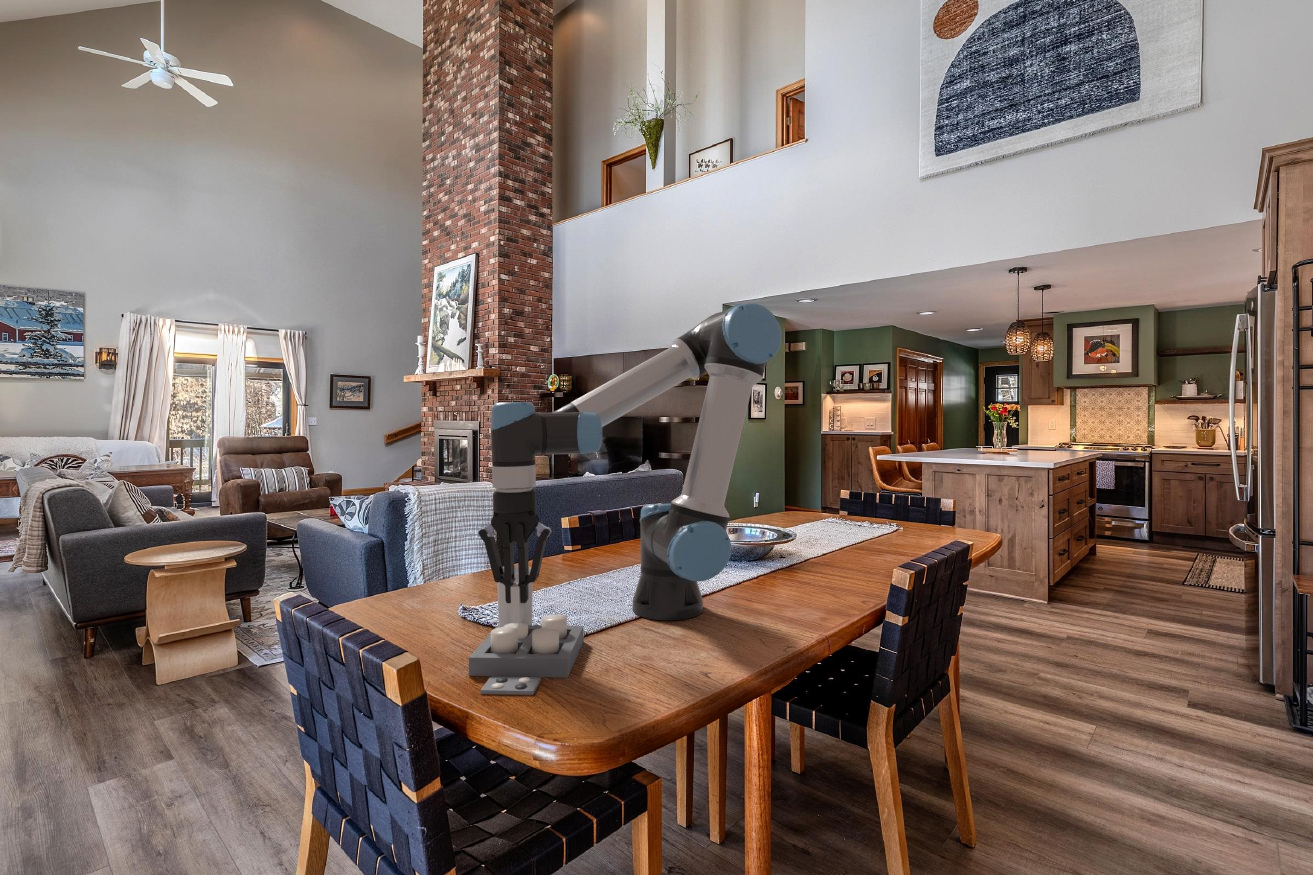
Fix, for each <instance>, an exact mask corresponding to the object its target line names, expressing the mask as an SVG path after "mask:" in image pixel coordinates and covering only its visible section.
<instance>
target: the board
mask: <svg viewBox="0 0 1313 875" xmlns="http://www.w3.org/2000/svg"><path fill="white" fill-rule="evenodd" d="M503 626H505V625H499V624H497V625H496V626H495V628H494V629H496V628H500V627H503ZM584 626H585V625H567V639H559V654H532V632H533V631H534V630H536V629H539V628H542V624H541V625H539V624H537V625H536V624H535V625H534V624H532V625H528V637H527V638H526V639H518V651H517V652H516V654H500V653H491V632H490V633H489V634H488V635H487V637H485V639H484V640H483V641H482V642H481V643H480V644H479V645H478V647H477V648H476V649H475V650H474V651H473V653H471V654H470V655H469V657H468V676H469V677H491V676H494V677H541V678H562V679H563V678H565V679H566V678H567V679H568V678H569V676H570V673H571V671H572V669H573V666H574V665H575V662H576V660H577V657H578V655H579V653H580V651H581V649H582V646H583V644H584V641H585V639H584V636H585V635H584V634H585V633H584V632H585V629H584Z"/></svg>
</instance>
